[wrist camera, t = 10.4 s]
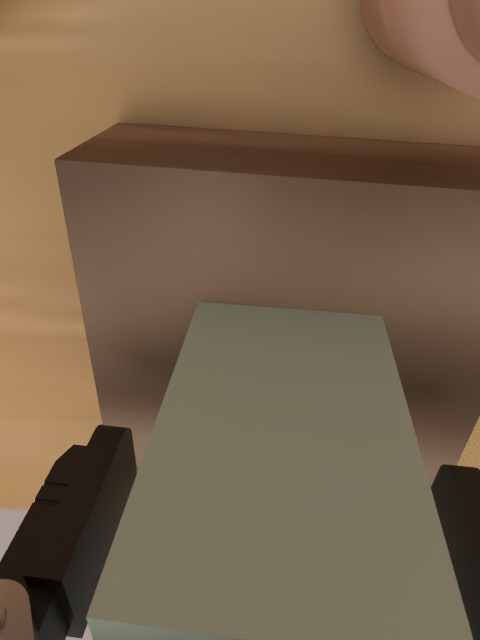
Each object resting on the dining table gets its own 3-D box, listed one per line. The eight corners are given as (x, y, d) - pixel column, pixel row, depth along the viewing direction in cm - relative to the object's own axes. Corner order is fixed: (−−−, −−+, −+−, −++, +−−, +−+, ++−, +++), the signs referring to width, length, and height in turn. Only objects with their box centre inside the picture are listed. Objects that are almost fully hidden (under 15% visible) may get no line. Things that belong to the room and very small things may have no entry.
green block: (197, 301, 13) (85, 618, 6) (382, 316, 12) (482, 671, 6) (201, 427, 15) (128, 740, 9) (351, 443, 15) (394, 781, 8)
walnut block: (122, 120, 15) (54, 159, 11) (499, 145, 14) (581, 198, 10) (148, 390, 22) (112, 479, 18) (405, 418, 21) (431, 518, 17)
